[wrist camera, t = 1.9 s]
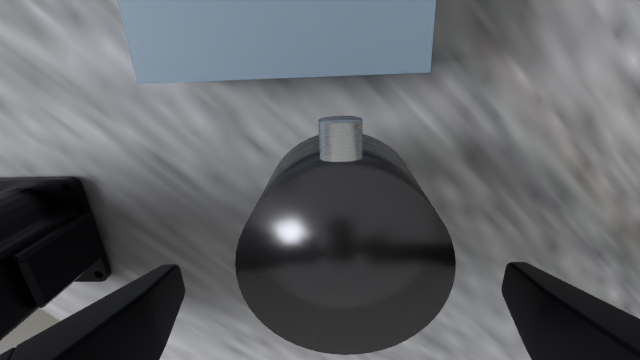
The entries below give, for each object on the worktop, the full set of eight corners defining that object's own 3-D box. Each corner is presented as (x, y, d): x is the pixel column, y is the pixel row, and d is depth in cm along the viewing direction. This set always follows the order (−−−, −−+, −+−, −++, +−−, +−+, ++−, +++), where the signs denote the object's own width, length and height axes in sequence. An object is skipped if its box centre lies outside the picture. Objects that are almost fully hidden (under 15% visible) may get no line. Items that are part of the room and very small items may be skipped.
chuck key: (395, 240, 17) (440, 379, 10) (287, 241, 18) (253, 375, 10) (403, 91, 14) (475, 128, 7) (274, 95, 15) (213, 136, 7)
